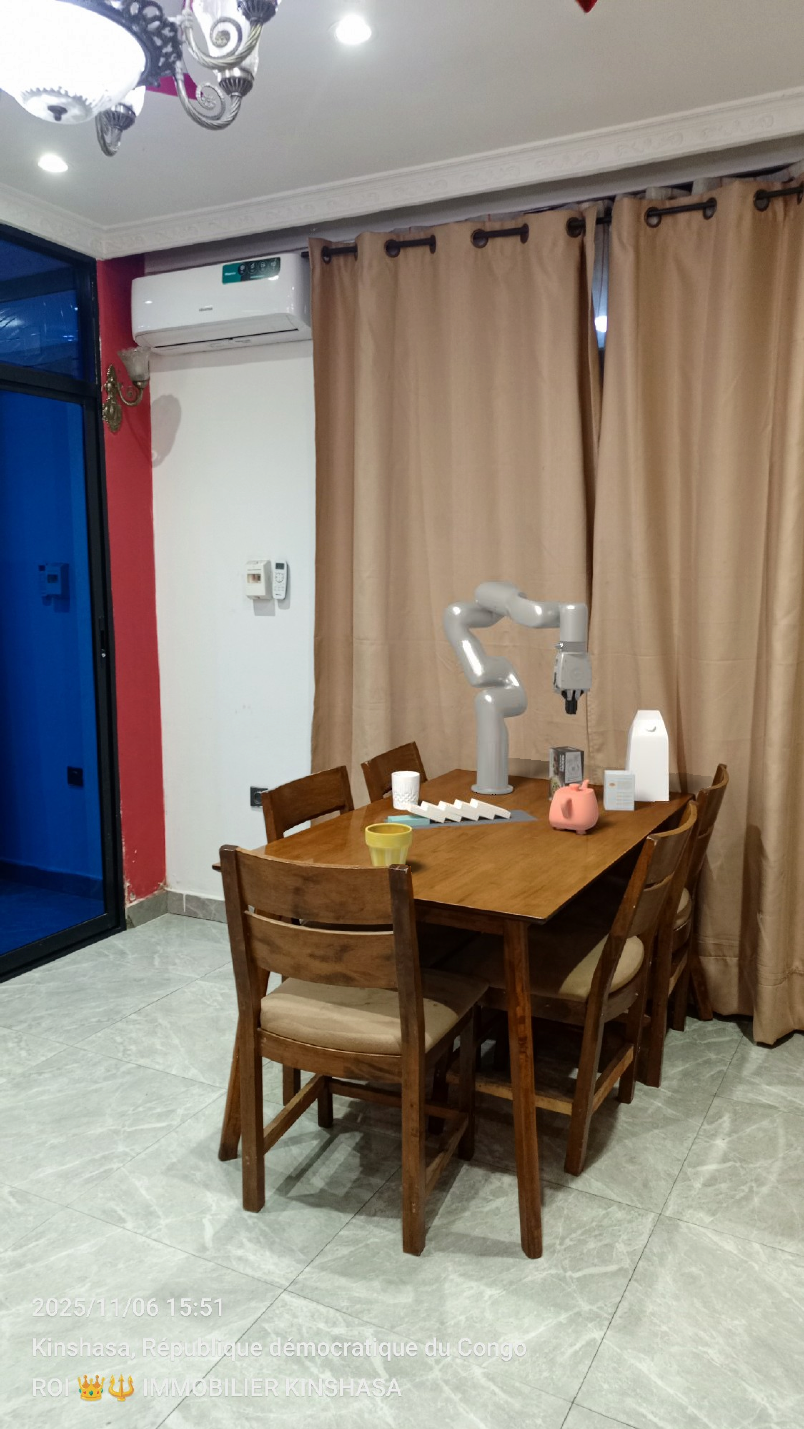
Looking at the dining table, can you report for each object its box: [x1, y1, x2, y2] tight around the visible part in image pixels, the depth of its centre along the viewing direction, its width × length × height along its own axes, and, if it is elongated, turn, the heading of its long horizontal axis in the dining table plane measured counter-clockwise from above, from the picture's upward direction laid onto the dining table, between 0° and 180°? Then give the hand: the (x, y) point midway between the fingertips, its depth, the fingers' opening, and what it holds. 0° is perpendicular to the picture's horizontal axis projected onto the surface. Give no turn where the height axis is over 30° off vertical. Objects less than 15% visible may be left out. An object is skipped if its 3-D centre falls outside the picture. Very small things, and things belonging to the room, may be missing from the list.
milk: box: [624, 709, 670, 802], centre depth 284 cm, size 12×12×26 cm
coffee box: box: [548, 746, 585, 802], centre depth 276 cm, size 9×6×16 cm
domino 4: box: [437, 800, 479, 821], centre depth 256 cm, size 5×2×10 cm
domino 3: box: [420, 800, 462, 822], centre depth 255 cm, size 5×2×10 cm
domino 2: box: [404, 802, 445, 823], centre depth 253 cm, size 5×2×10 cm
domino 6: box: [469, 798, 511, 819], centre depth 258 cm, size 5×2×10 cm
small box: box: [603, 769, 635, 812], centre depth 271 cm, size 8×6×10 cm
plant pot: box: [364, 822, 413, 867], centre depth 212 cm, size 10×10×10 cm
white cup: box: [391, 770, 421, 811], centre depth 270 cm, size 8×8×10 cm
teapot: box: [548, 778, 599, 835], centre depth 249 cm, size 20×12×12 cm, turn 152°
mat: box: [382, 809, 539, 830], centre depth 256 cm, size 12×40×1 cm, turn 106°
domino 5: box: [453, 798, 495, 820], centre depth 257 cm, size 5×2×10 cm
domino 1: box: [387, 814, 430, 826], centre depth 252 cm, size 5×2×10 cm
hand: (571, 713), depth 267 cm, fingers closed
